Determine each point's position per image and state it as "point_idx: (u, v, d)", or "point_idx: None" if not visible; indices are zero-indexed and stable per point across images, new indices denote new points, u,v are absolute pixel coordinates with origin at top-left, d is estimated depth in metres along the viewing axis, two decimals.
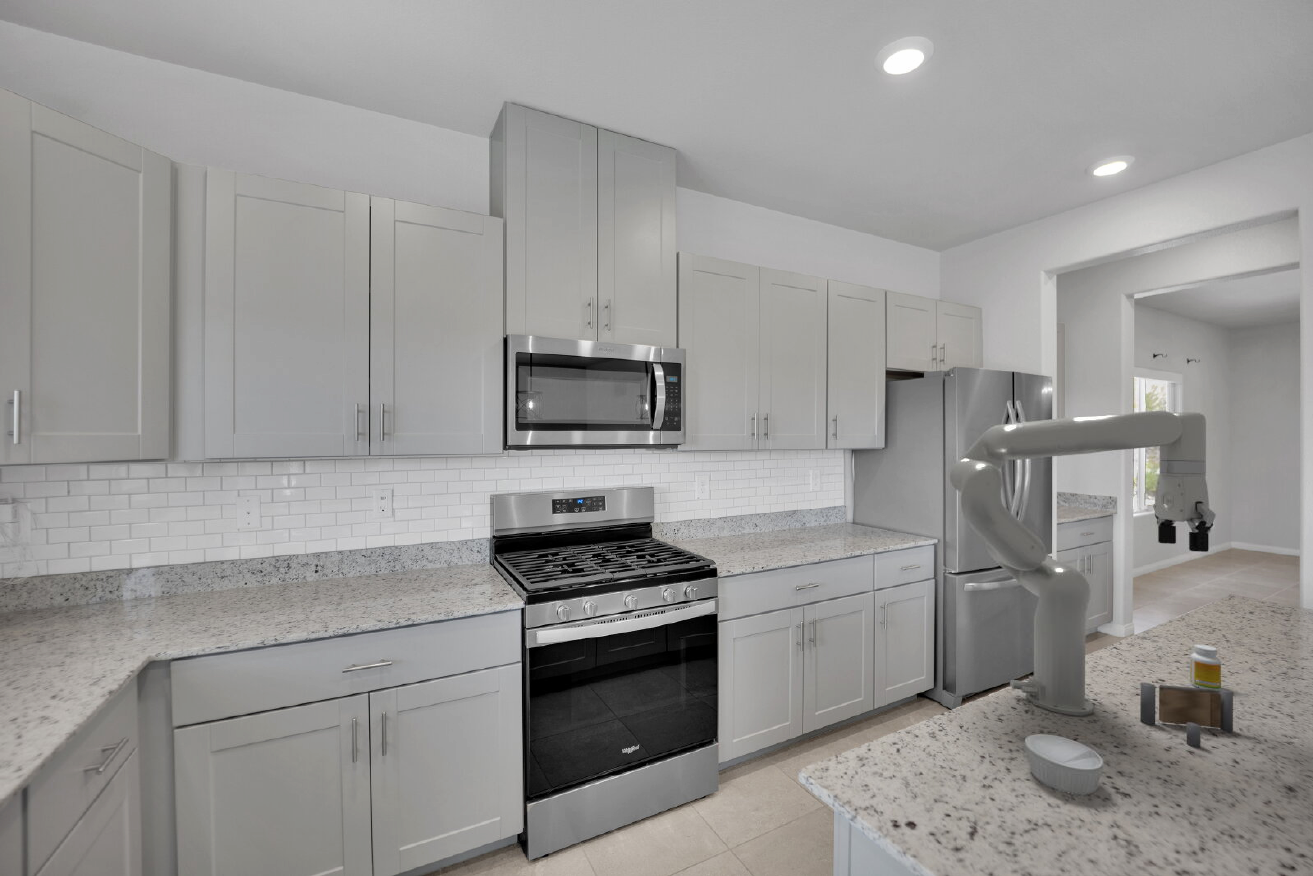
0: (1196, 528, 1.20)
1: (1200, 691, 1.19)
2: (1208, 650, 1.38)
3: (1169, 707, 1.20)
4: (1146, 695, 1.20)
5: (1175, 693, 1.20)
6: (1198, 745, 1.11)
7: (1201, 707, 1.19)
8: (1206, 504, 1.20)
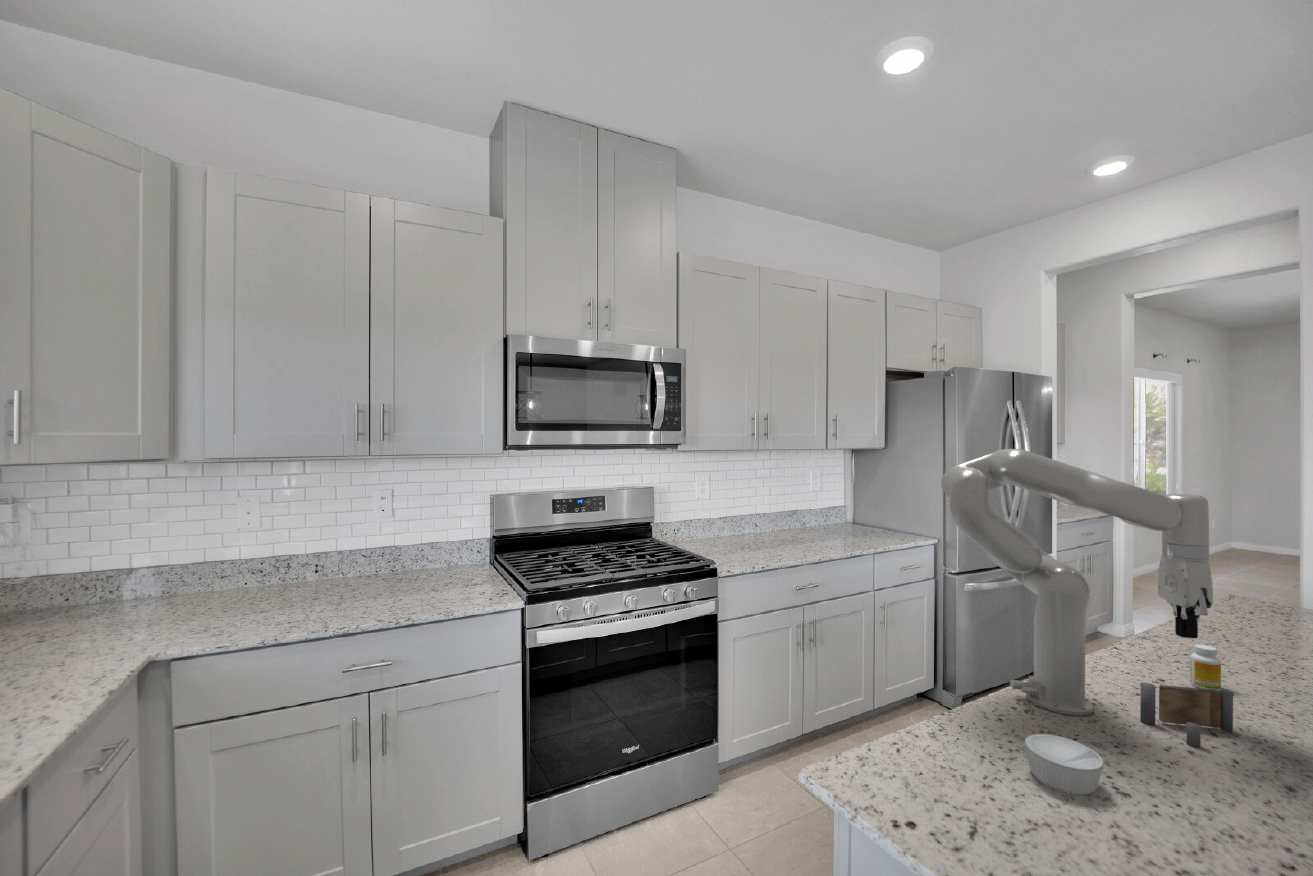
0: (1186, 618, 1.22)
1: (1200, 691, 1.19)
2: (1208, 650, 1.38)
3: (1169, 707, 1.20)
4: (1146, 695, 1.20)
5: (1175, 693, 1.20)
6: (1198, 745, 1.11)
7: (1201, 707, 1.19)
8: (1210, 591, 1.19)
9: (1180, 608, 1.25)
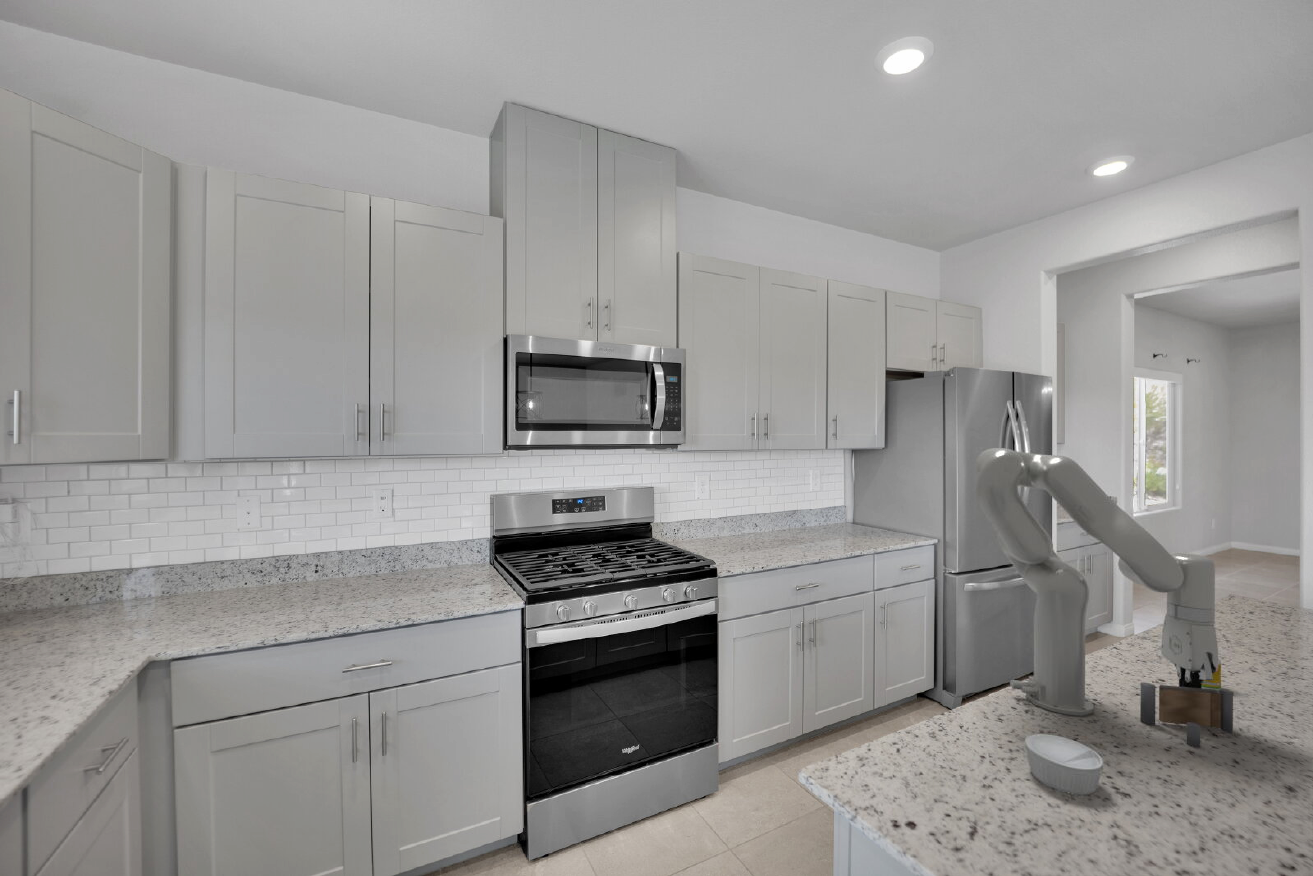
0: (1190, 681, 1.20)
1: (1200, 691, 1.19)
2: None
3: (1169, 707, 1.20)
4: (1146, 695, 1.20)
5: (1175, 693, 1.20)
6: (1198, 745, 1.11)
7: (1202, 707, 1.19)
8: (1215, 655, 1.17)
9: (1184, 669, 1.23)
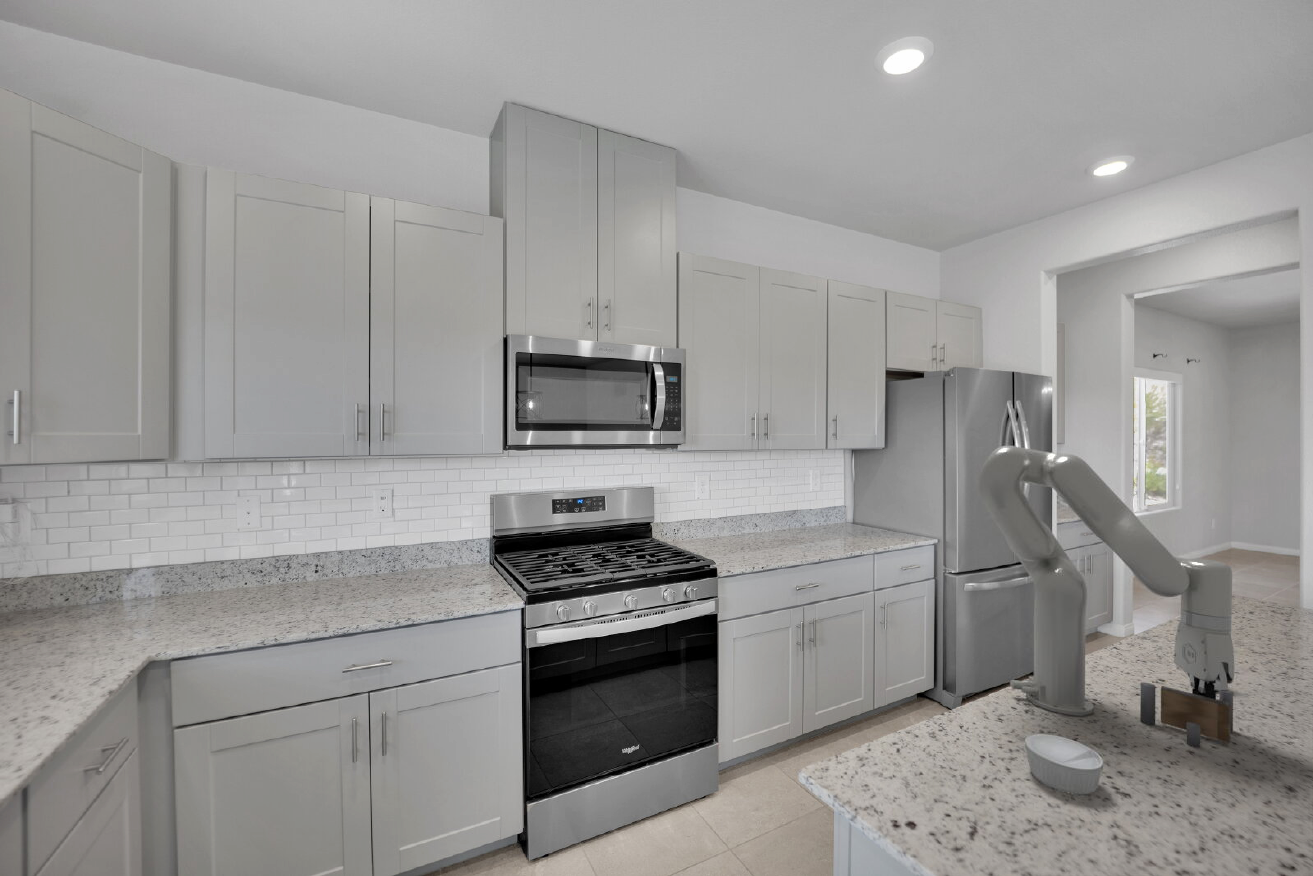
0: (1204, 691, 1.16)
1: (1205, 700, 1.15)
2: None
3: (1168, 709, 1.19)
4: (1146, 695, 1.20)
5: (1175, 696, 1.18)
6: (1198, 745, 1.11)
7: (1207, 717, 1.14)
8: (1231, 666, 1.12)
9: (1197, 679, 1.19)
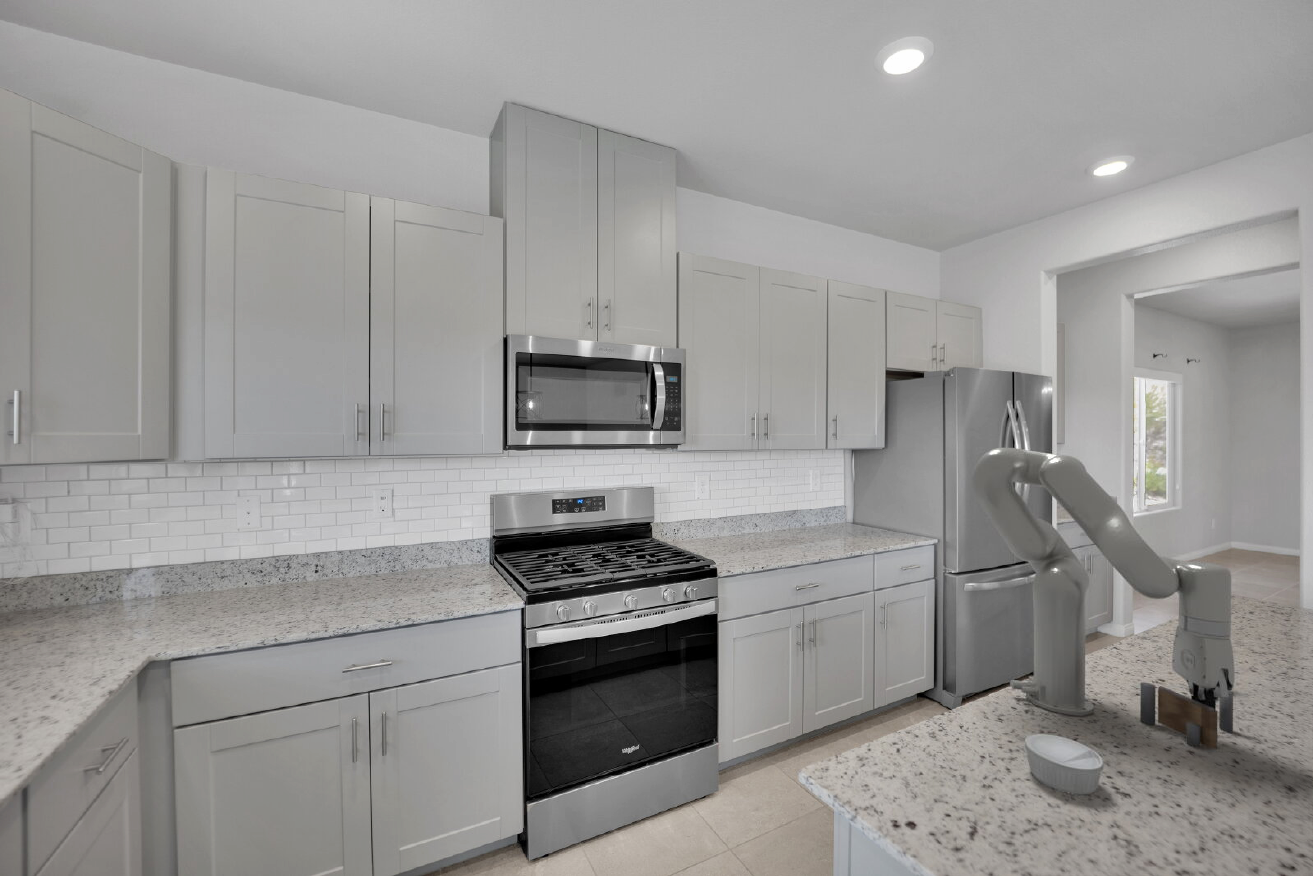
0: (1203, 698, 1.13)
1: (1192, 703, 1.13)
2: None
3: (1163, 709, 1.19)
4: (1146, 695, 1.20)
5: (1168, 696, 1.18)
6: (1198, 745, 1.11)
7: (1193, 720, 1.13)
8: (1232, 672, 1.09)
9: (1196, 686, 1.15)
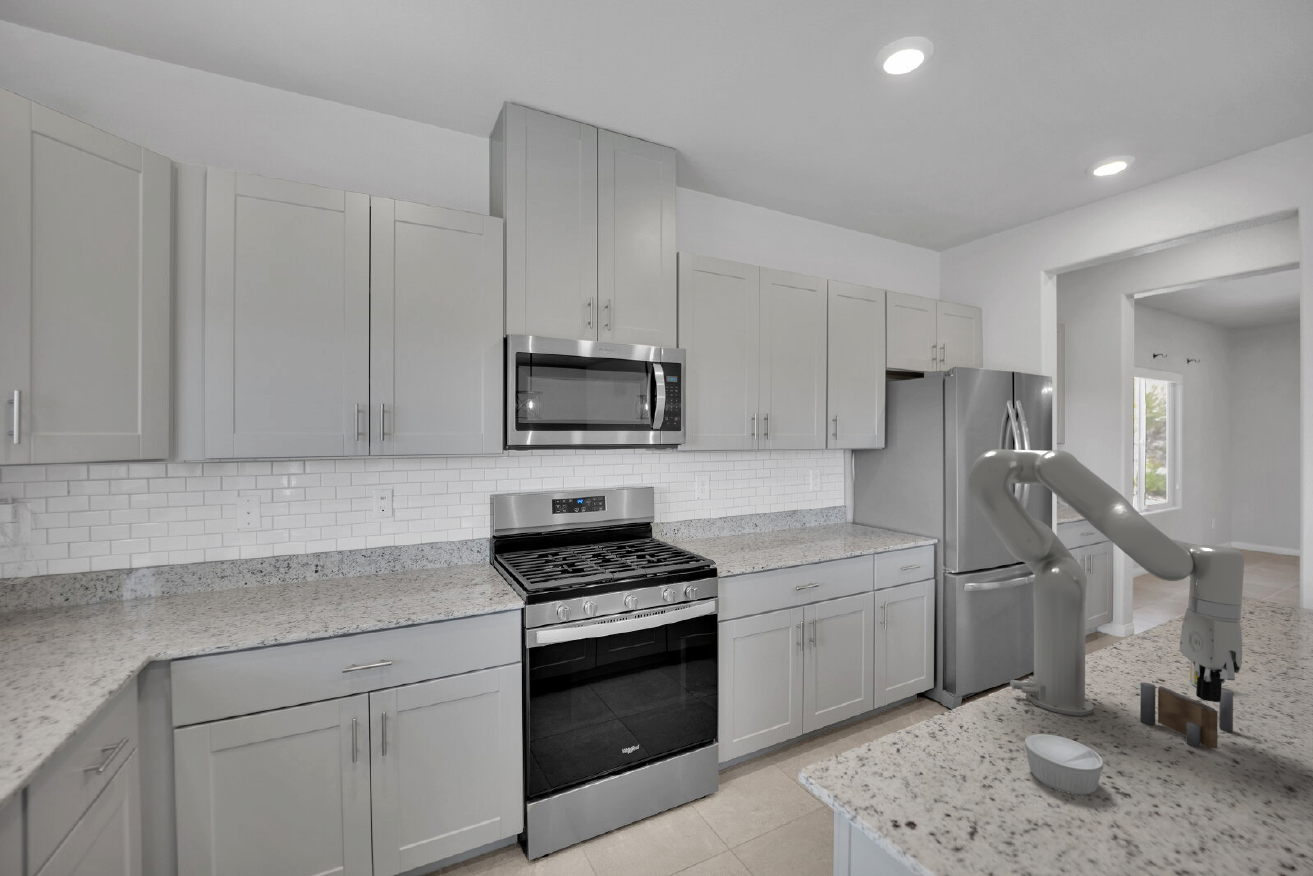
0: (1209, 680, 1.13)
1: (1192, 703, 1.13)
2: None
3: (1163, 709, 1.19)
4: (1146, 695, 1.20)
5: (1168, 696, 1.18)
6: (1198, 745, 1.11)
7: (1193, 720, 1.13)
8: (1239, 654, 1.09)
9: (1203, 668, 1.16)
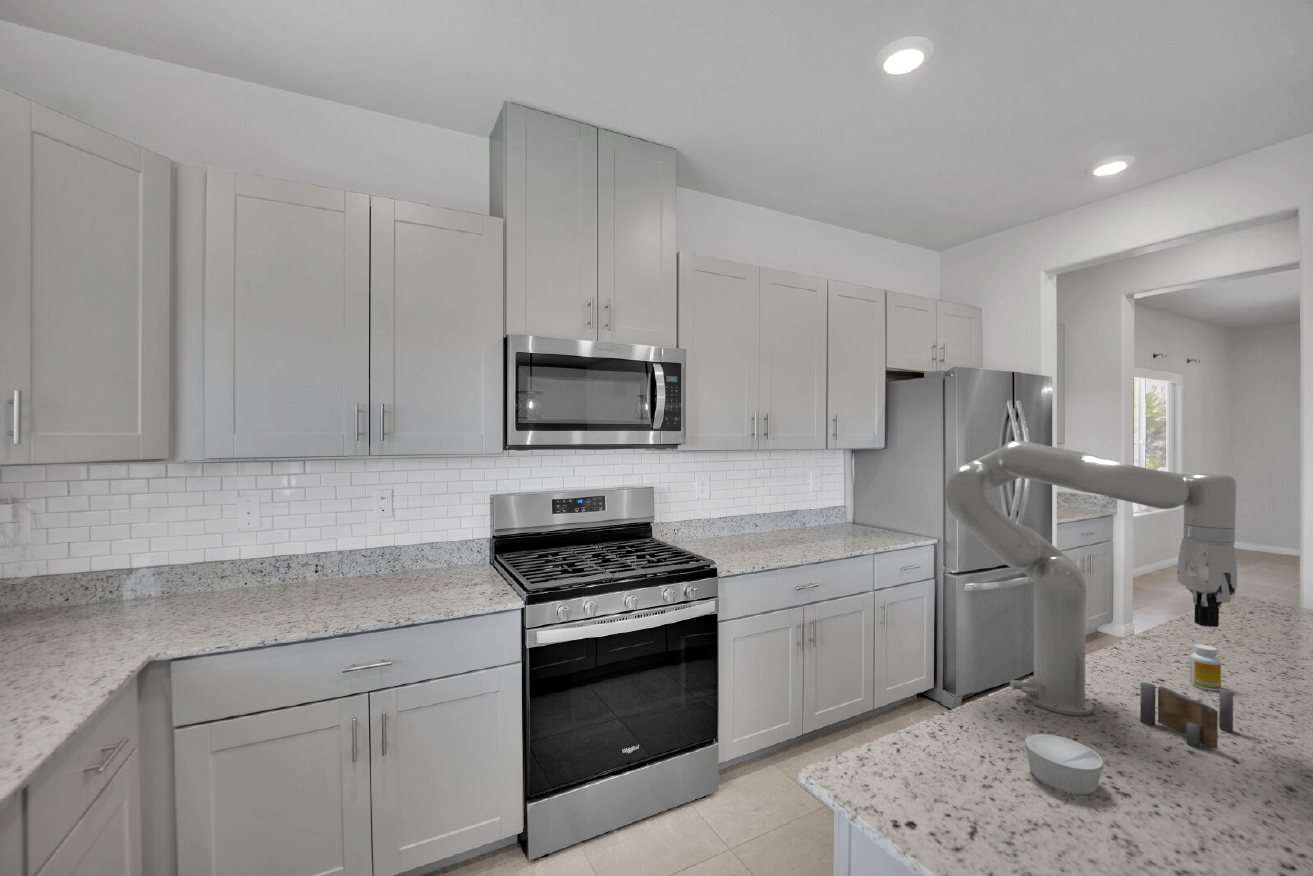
0: (1206, 605, 1.15)
1: (1192, 703, 1.13)
2: (1208, 650, 1.38)
3: (1163, 709, 1.19)
4: (1146, 695, 1.20)
5: (1168, 696, 1.18)
6: (1198, 745, 1.11)
7: (1193, 720, 1.13)
8: (1234, 576, 1.11)
9: (1200, 595, 1.17)
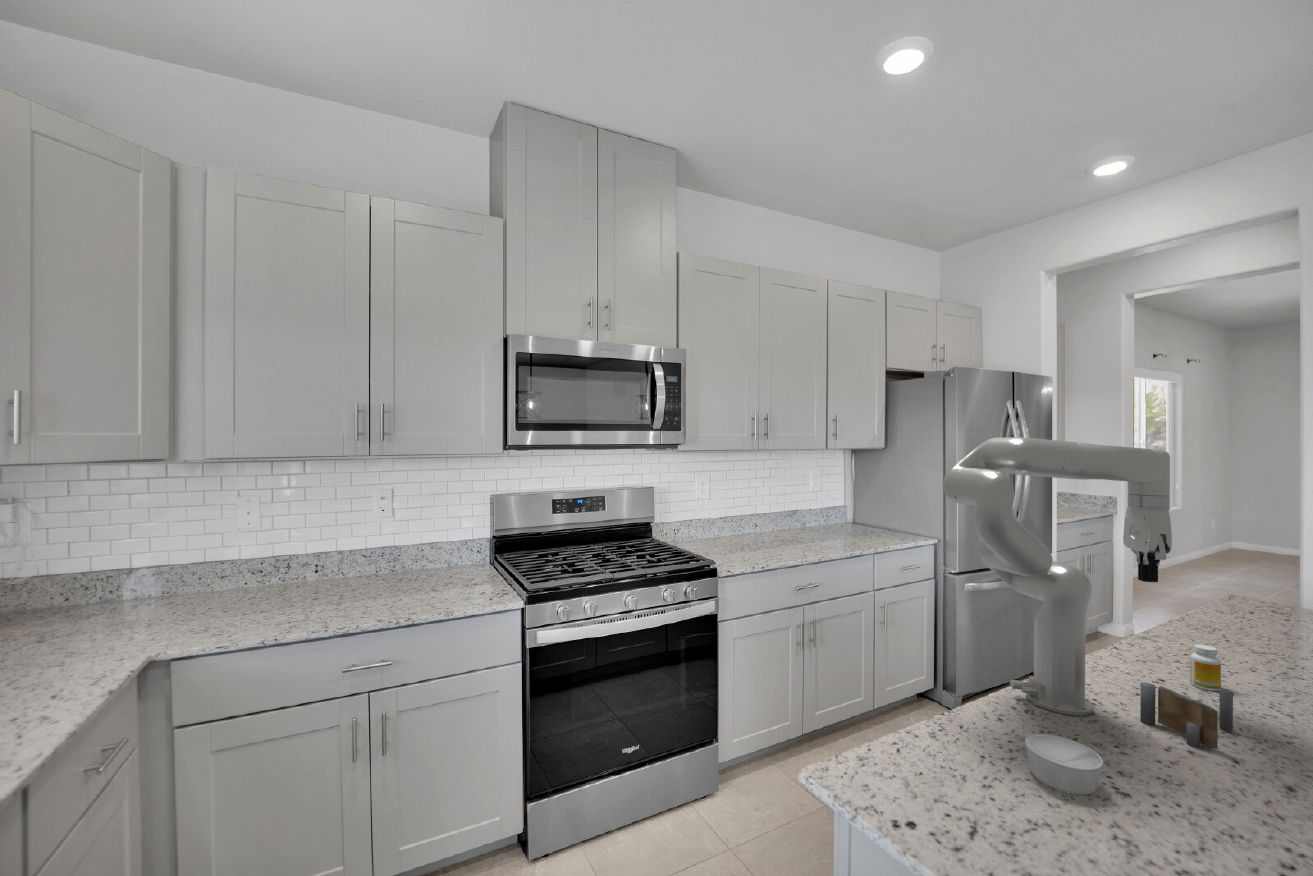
0: (1147, 563, 1.32)
1: (1192, 703, 1.13)
2: (1208, 650, 1.38)
3: (1163, 709, 1.19)
4: (1146, 695, 1.20)
5: (1168, 696, 1.18)
6: (1198, 745, 1.11)
7: (1193, 720, 1.13)
8: (1169, 537, 1.28)
9: (1143, 555, 1.35)
